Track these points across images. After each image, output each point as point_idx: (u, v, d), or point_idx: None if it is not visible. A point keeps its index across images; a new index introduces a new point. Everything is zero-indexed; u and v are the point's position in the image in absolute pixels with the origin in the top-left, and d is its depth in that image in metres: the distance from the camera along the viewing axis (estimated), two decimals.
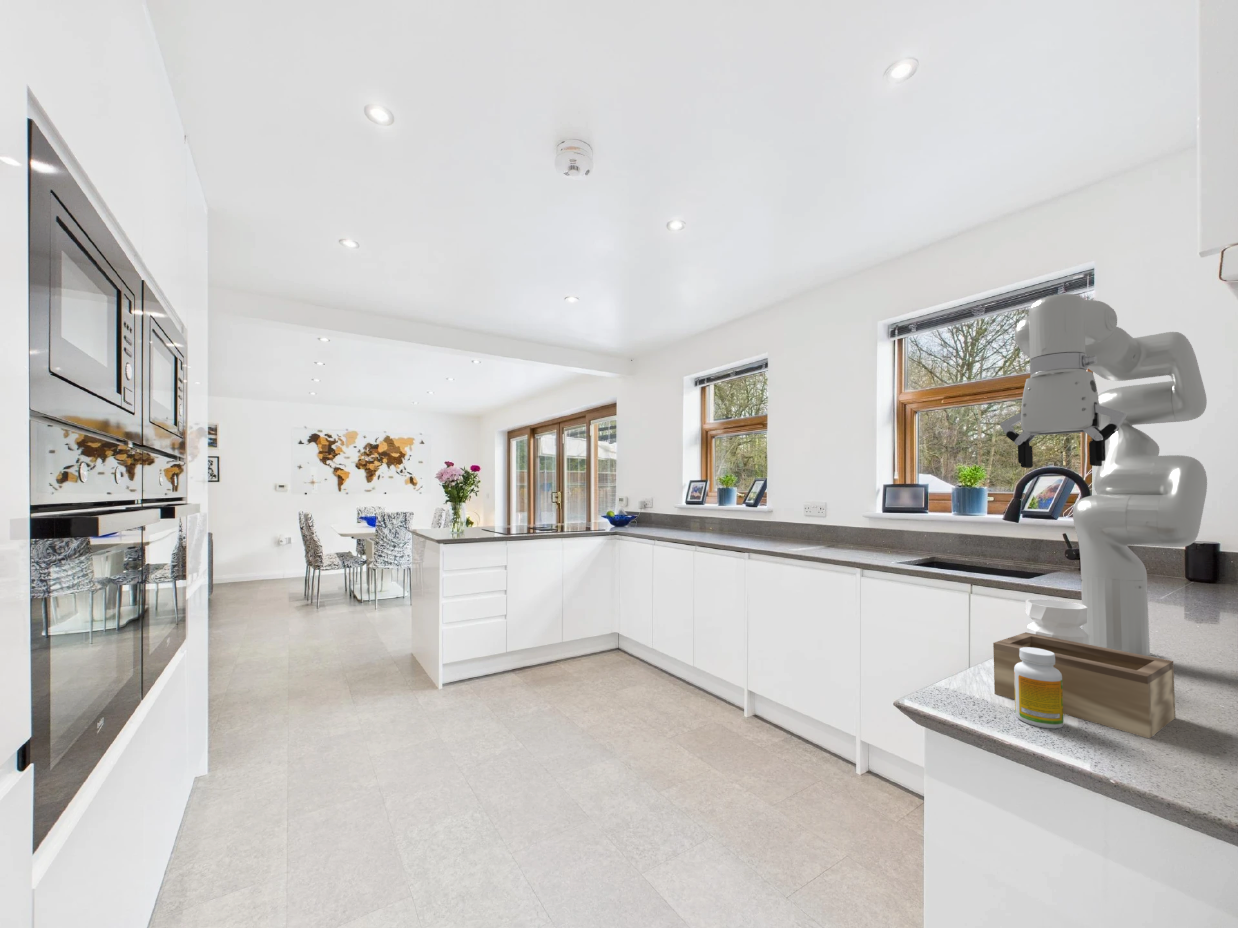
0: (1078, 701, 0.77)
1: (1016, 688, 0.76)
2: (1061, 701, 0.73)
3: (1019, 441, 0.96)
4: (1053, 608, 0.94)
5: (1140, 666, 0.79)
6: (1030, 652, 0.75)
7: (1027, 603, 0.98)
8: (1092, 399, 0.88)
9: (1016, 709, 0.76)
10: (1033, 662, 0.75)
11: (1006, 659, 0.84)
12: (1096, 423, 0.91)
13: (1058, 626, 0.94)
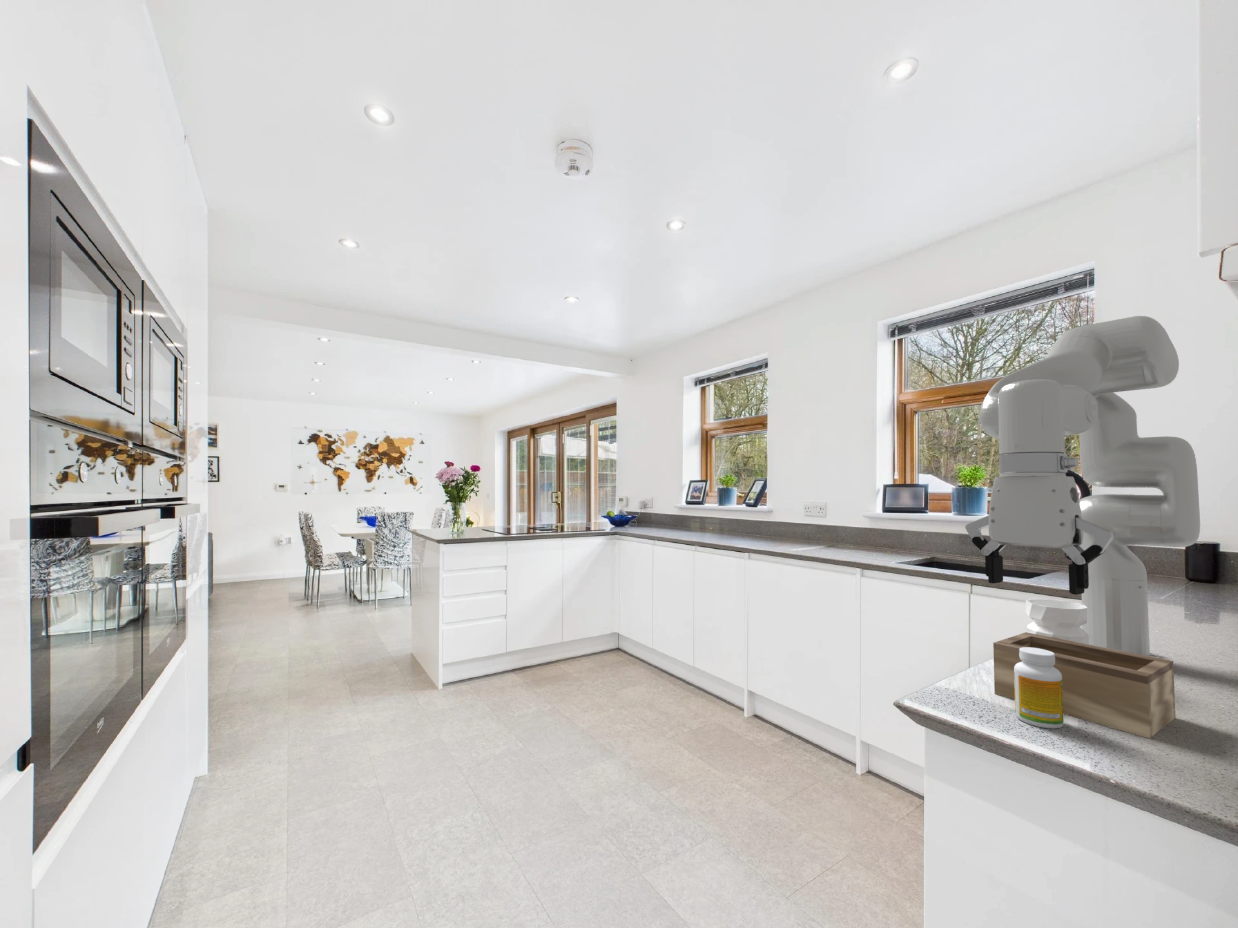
0: (1078, 701, 0.77)
1: (1016, 688, 0.76)
2: (1061, 701, 0.73)
3: (987, 551, 0.80)
4: (1053, 608, 0.94)
5: (1140, 666, 0.79)
6: (1030, 652, 0.75)
7: (1027, 603, 0.98)
8: (1072, 512, 0.72)
9: (1016, 709, 0.76)
10: (1033, 662, 0.75)
11: (1006, 659, 0.84)
12: (1078, 538, 0.74)
13: (1058, 626, 0.94)
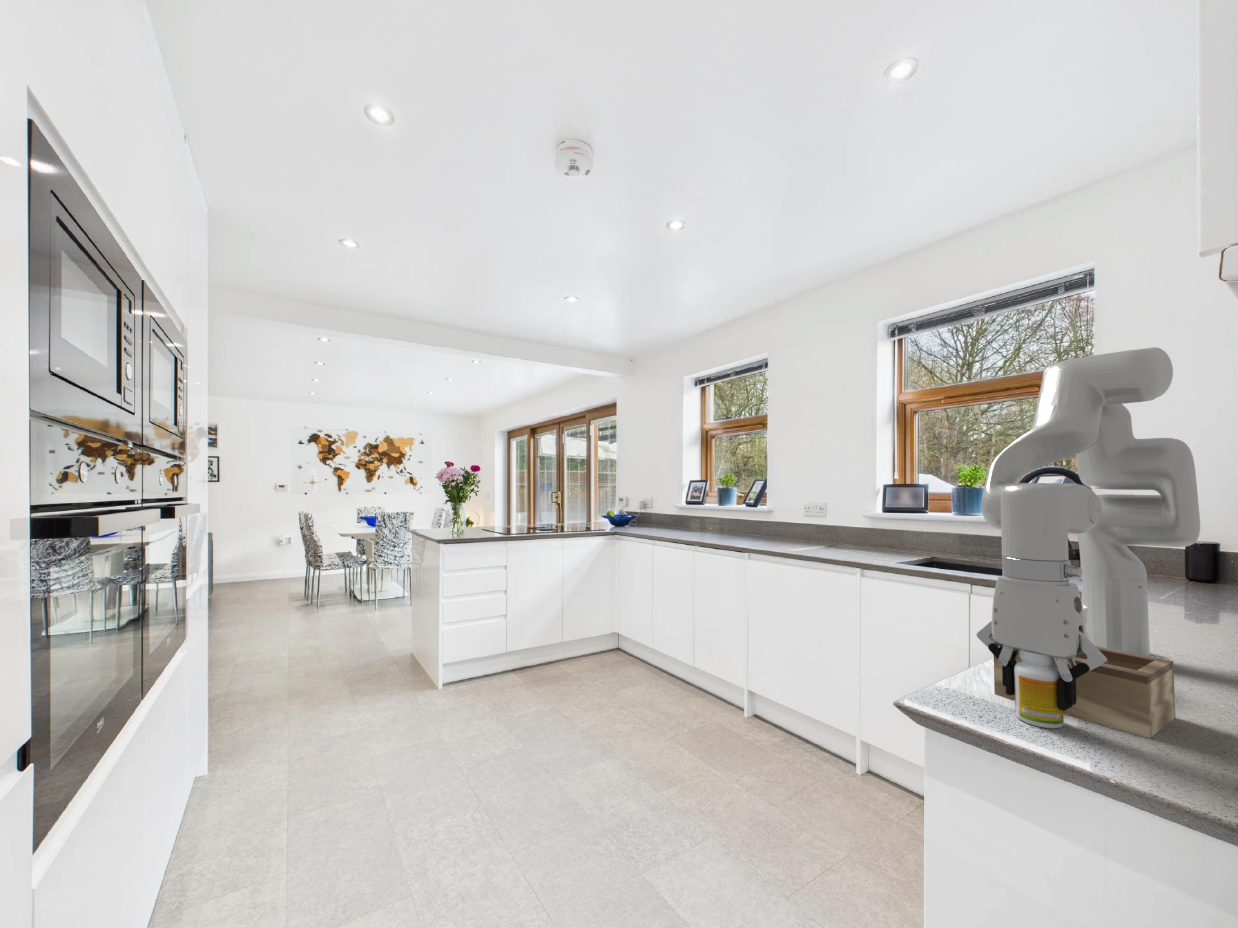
0: (1078, 701, 0.77)
1: (1016, 688, 0.76)
2: None
3: (1004, 661, 0.78)
4: None
5: (1140, 666, 0.79)
6: (1030, 652, 0.75)
7: None
8: (1076, 623, 0.71)
9: (1016, 709, 0.76)
10: (1033, 661, 0.75)
11: None
12: None
13: None
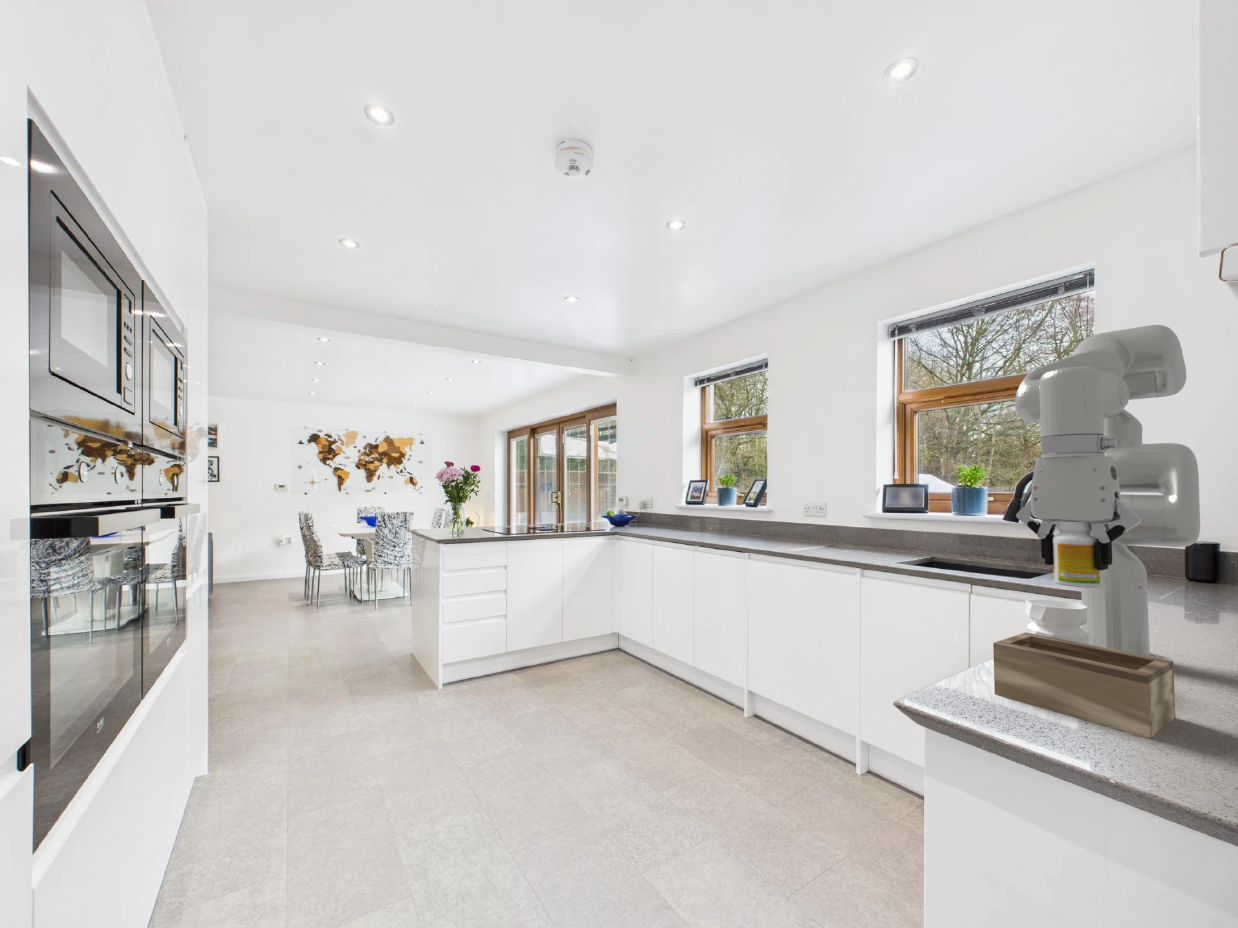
0: (1078, 701, 0.77)
1: (1055, 556, 0.83)
2: None
3: (1043, 534, 0.85)
4: (1053, 607, 0.94)
5: (1140, 666, 0.79)
6: None
7: (1027, 603, 0.98)
8: (1113, 489, 0.78)
9: (1055, 575, 0.83)
10: (1071, 529, 0.81)
11: (1006, 659, 0.84)
12: (1117, 513, 0.80)
13: (1058, 626, 0.94)
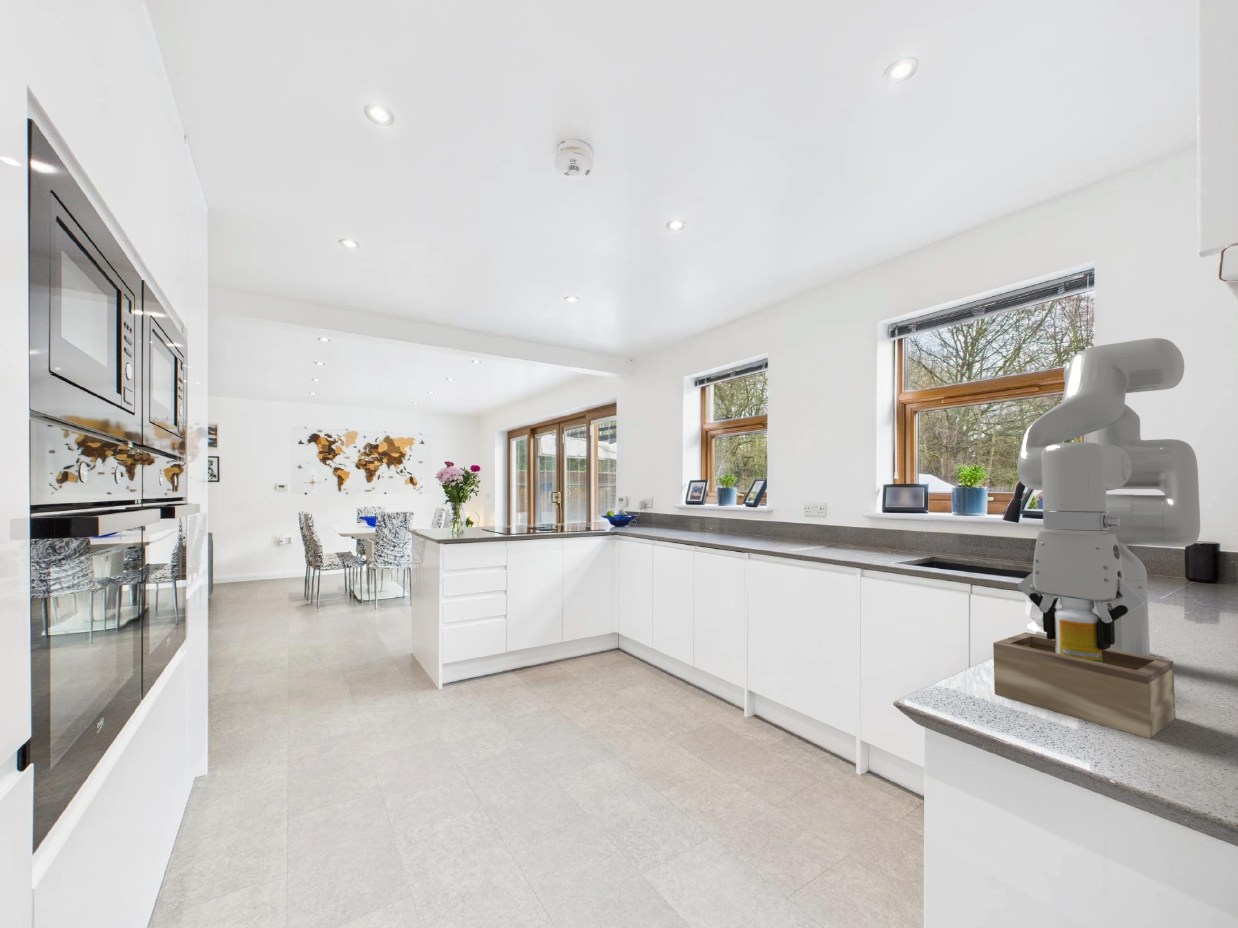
0: (1078, 701, 0.77)
1: (1057, 631, 0.82)
2: None
3: (1044, 608, 0.84)
4: None
5: (1140, 666, 0.79)
6: (1070, 598, 0.81)
7: (1027, 603, 0.98)
8: (1115, 568, 0.77)
9: (1057, 651, 0.82)
10: (1073, 606, 0.80)
11: (1006, 659, 0.84)
12: None
13: None
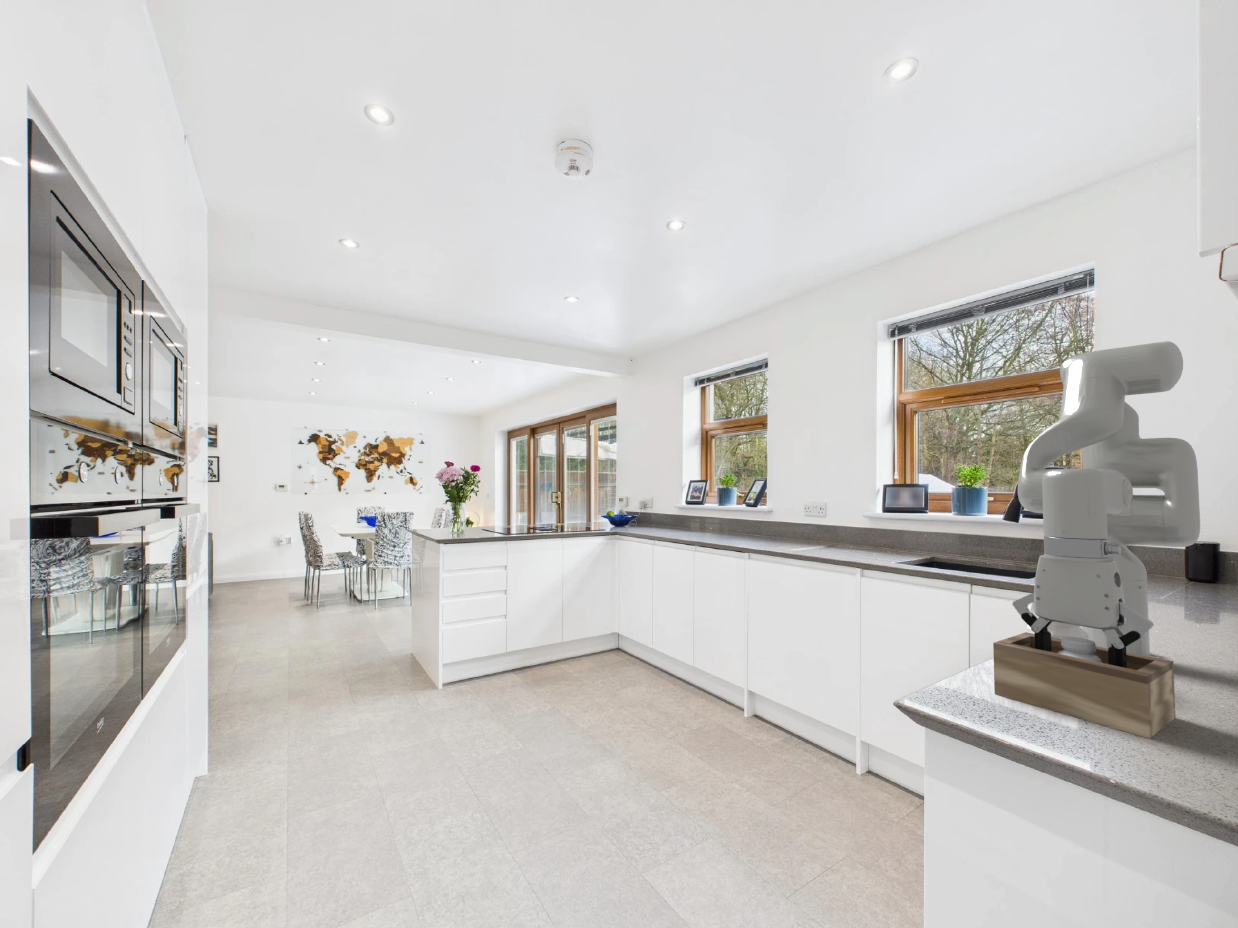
0: (1078, 701, 0.77)
1: None
2: None
3: (1036, 628, 0.85)
4: None
5: (1140, 666, 0.79)
6: (1072, 641, 0.81)
7: None
8: (1116, 596, 0.77)
9: None
10: (1075, 649, 0.80)
11: (1006, 659, 0.84)
12: (1120, 617, 0.80)
13: (1058, 625, 0.94)
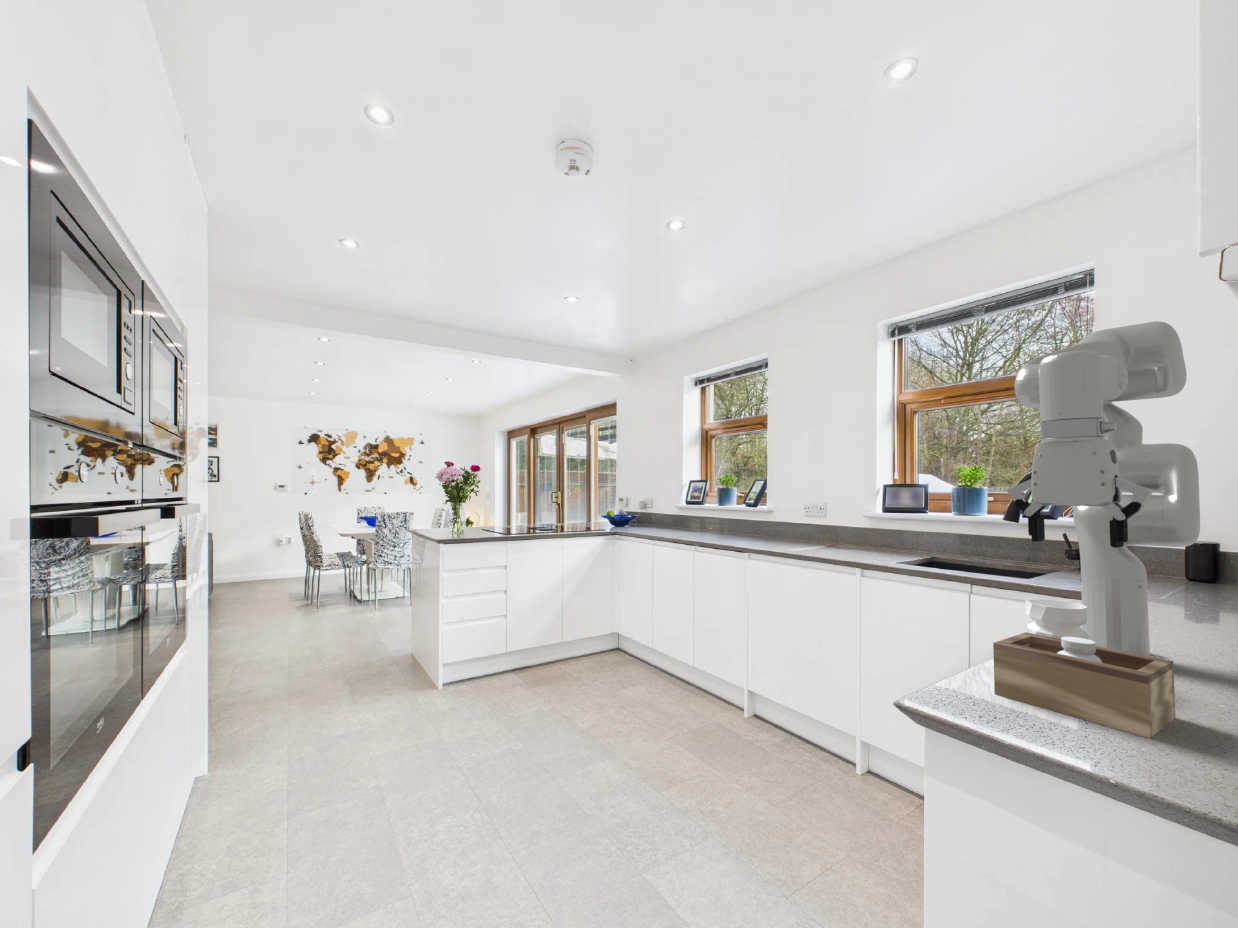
0: (1078, 701, 0.77)
1: None
2: None
3: (1029, 512, 0.87)
4: (1053, 607, 0.94)
5: (1140, 666, 0.79)
6: (1072, 641, 0.81)
7: (1027, 603, 0.98)
8: (1112, 472, 0.78)
9: None
10: (1075, 649, 0.80)
11: (1006, 659, 0.84)
12: (1116, 496, 0.81)
13: (1058, 626, 0.94)
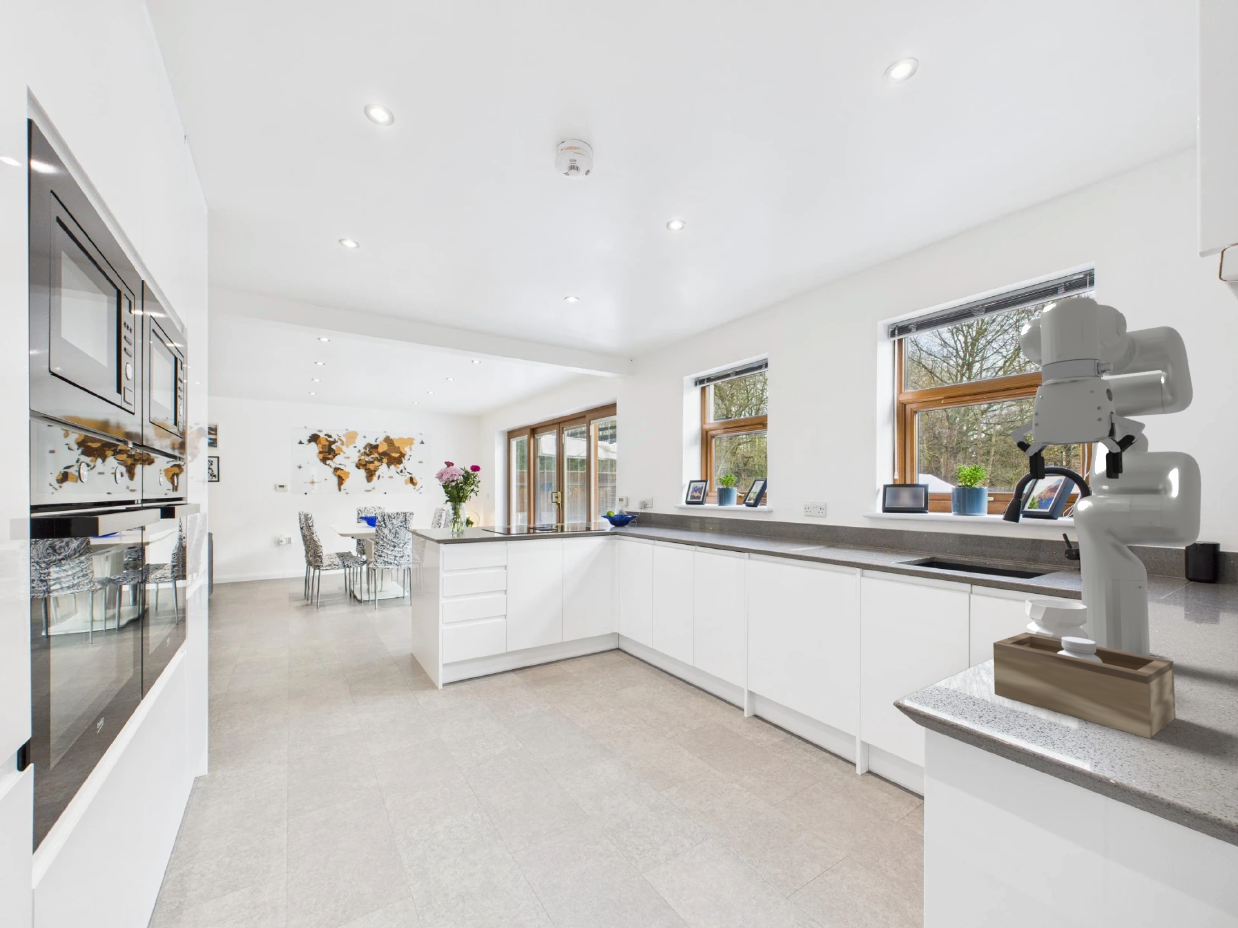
0: (1078, 701, 0.77)
1: None
2: None
3: (1031, 452, 0.92)
4: (1053, 607, 0.94)
5: (1140, 666, 0.79)
6: (1072, 641, 0.81)
7: (1027, 603, 0.99)
8: (1108, 408, 0.84)
9: None
10: (1075, 649, 0.80)
11: (1006, 659, 0.84)
12: (1112, 433, 0.86)
13: (1058, 626, 0.94)
